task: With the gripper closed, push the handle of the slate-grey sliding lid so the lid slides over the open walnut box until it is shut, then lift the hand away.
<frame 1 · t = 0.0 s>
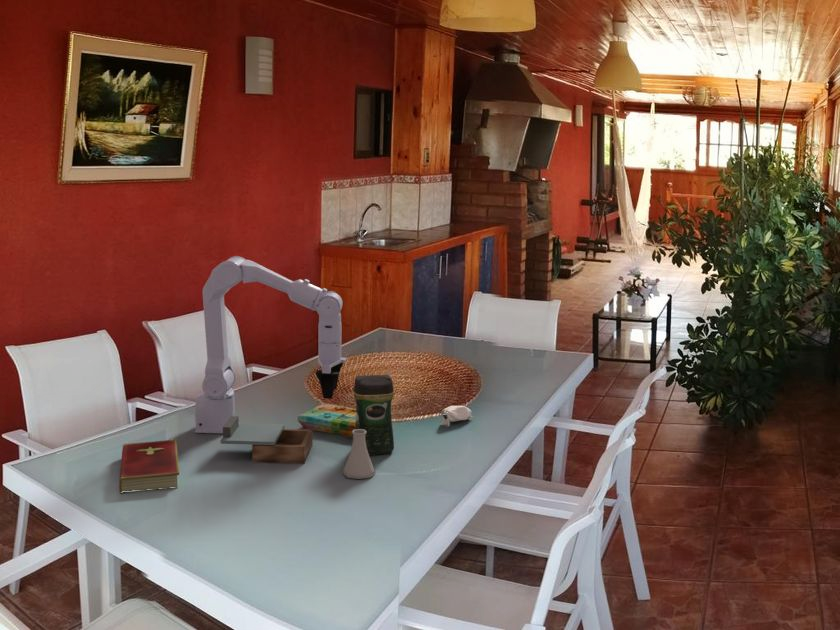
hand: (329, 393, 216), 10 cm above the table, tool pointing down, fingers open, 7 cm apart
box: (283, 453, 202), on the table
coffee jar: (373, 450, 206), on the table
hardcover book: (150, 475, 190), on the table
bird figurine: (455, 423, 228), on the table
puzzle game: (343, 430, 221), on the table
flask: (359, 474, 191), on the table
lid: (253, 428, 201), point 6 cm above the table, slide at 7.0 cm
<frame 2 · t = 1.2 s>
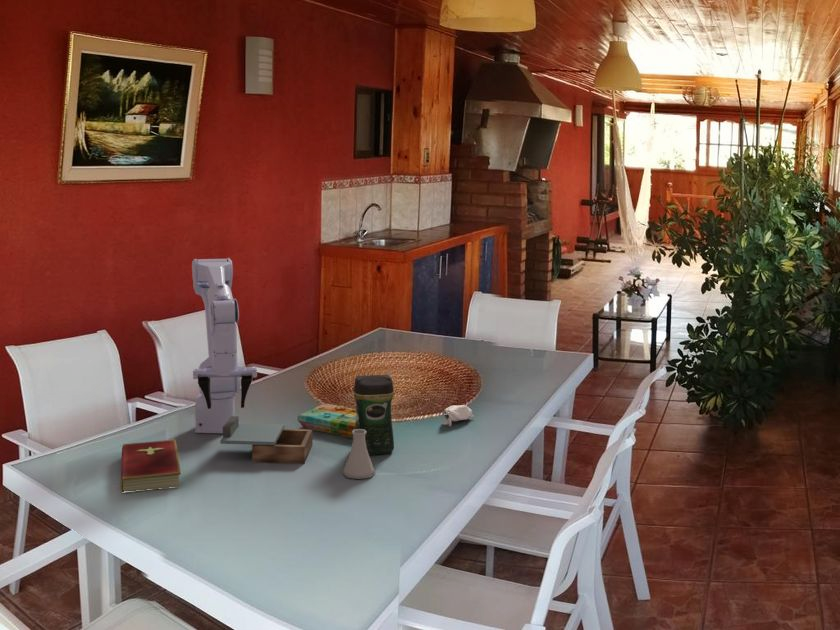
hand: (226, 407, 203), 10 cm above the table, tool pointing down, fingers open, 7 cm apart
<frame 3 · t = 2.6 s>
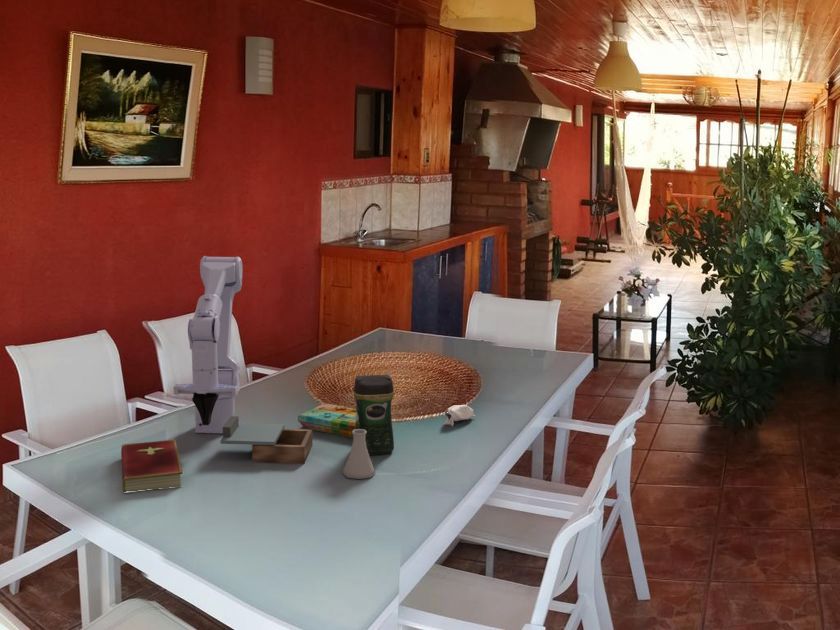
hand: (206, 423, 201), 7 cm above the table, tool pointing down, fingers closed
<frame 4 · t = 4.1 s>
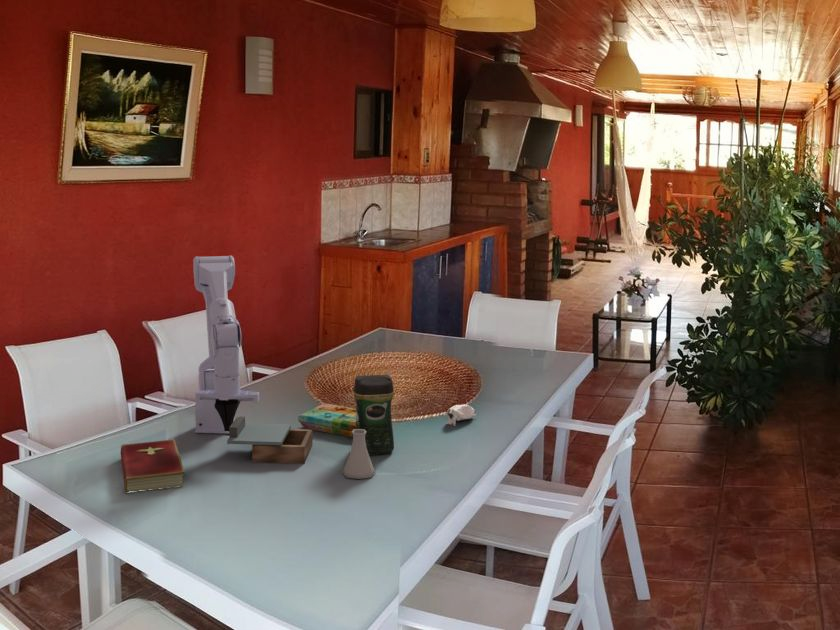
hand: (228, 430, 202), 5 cm above the table, tool pointing down, fingers closed
lid: (259, 429, 201), point 6 cm above the table, slide at 5.4 cm, touching gripper
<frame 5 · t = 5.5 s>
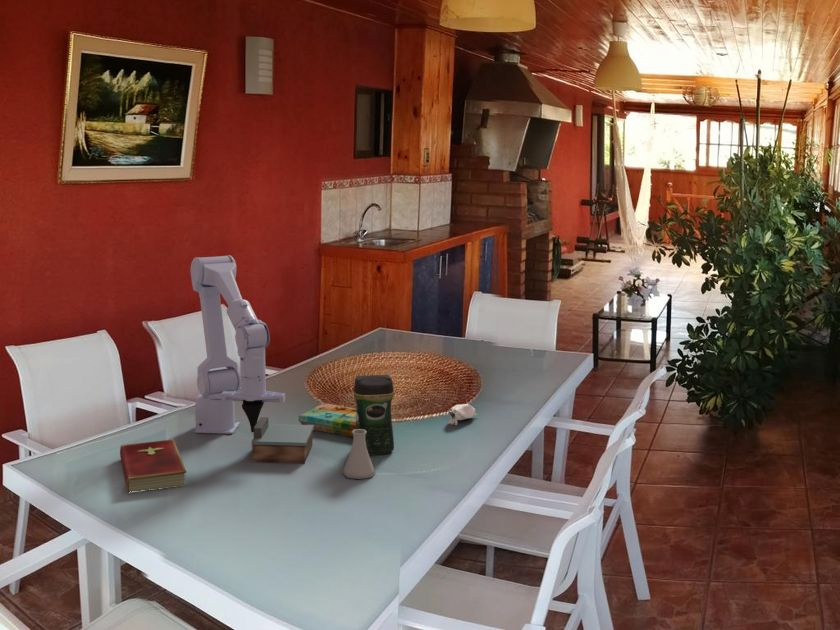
hand: (254, 430, 202), 5 cm above the table, tool pointing down, fingers closed
lid: (283, 429, 201), point 6 cm above the table, slide at -0.2 cm, touching gripper
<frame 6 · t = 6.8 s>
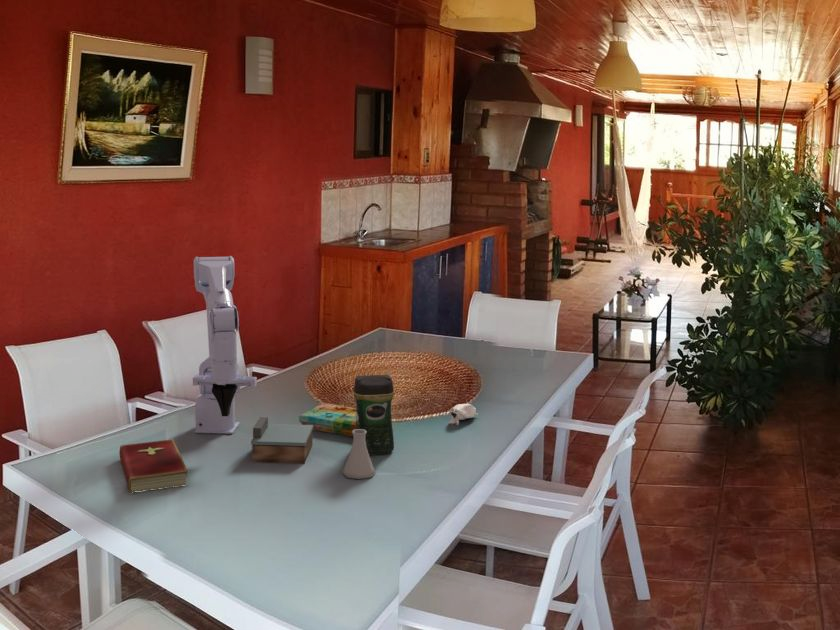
hand: (225, 415, 201), 9 cm above the table, tool pointing down, fingers closed
lid: (283, 429, 201), point 6 cm above the table, slide at 0.0 cm
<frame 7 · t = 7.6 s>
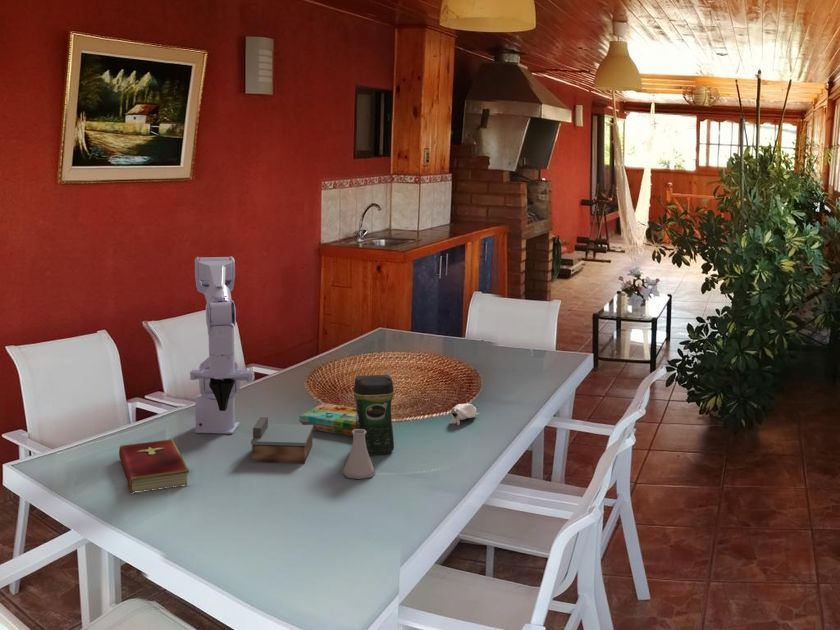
hand: (223, 409, 201), 10 cm above the table, tool pointing down, fingers closed
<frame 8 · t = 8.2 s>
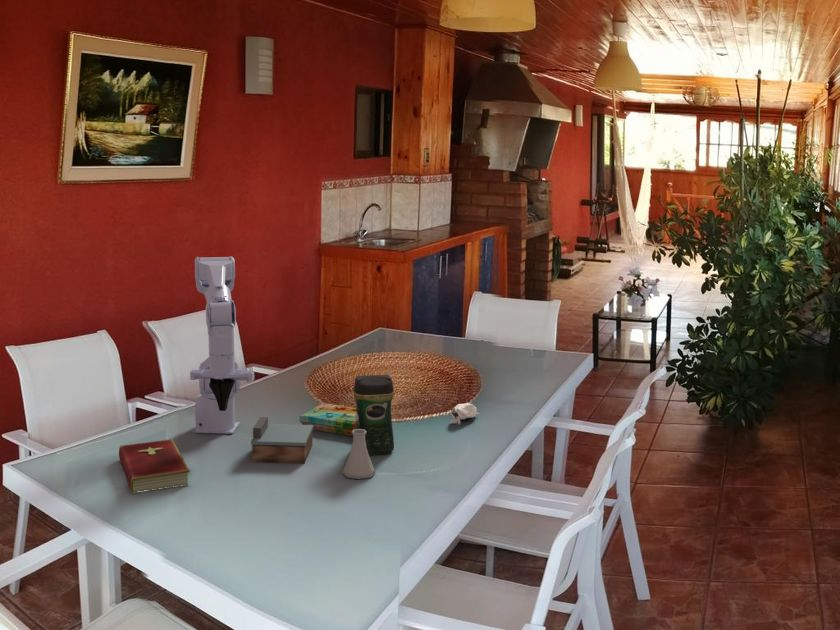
hand: (223, 409, 201), 10 cm above the table, tool pointing down, fingers closed
at the end: lid slide at 0.0 cm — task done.
